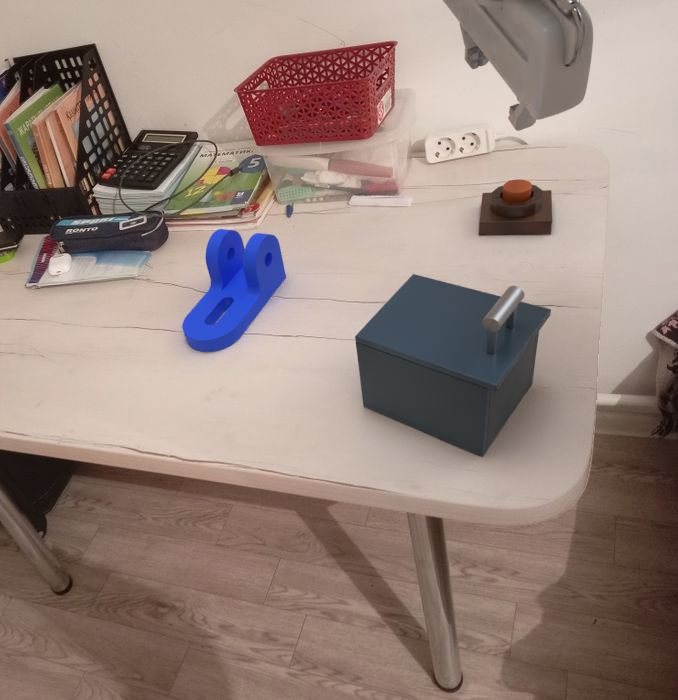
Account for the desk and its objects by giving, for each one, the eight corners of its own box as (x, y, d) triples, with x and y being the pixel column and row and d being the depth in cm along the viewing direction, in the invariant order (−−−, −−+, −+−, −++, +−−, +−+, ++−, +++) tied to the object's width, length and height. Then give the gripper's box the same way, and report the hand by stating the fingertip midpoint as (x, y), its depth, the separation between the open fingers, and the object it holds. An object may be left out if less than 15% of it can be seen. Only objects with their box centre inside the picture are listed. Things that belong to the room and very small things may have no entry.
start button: (530, 189, 87) (532, 178, 86) (530, 203, 84) (531, 191, 83) (502, 191, 88) (503, 179, 87) (501, 204, 86) (502, 193, 85)
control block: (549, 203, 89) (552, 178, 87) (550, 234, 84) (553, 208, 82) (481, 205, 93) (483, 181, 90) (478, 235, 88) (479, 210, 85)
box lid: (550, 315, 60) (556, 271, 56) (496, 392, 54) (499, 348, 51) (413, 279, 69) (411, 239, 65) (355, 342, 63) (350, 302, 60)
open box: (532, 383, 66) (541, 313, 60) (482, 457, 61) (486, 389, 55) (415, 344, 75) (413, 279, 69) (363, 406, 70) (355, 342, 63)
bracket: (238, 270, 96) (225, 219, 90) (286, 277, 92) (275, 224, 86) (175, 344, 86) (156, 293, 80) (224, 357, 82) (208, 304, 76)
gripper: (637, -7, 40) (591, 152, 51) (498, -134, 51) (485, 20, 62) (538, 31, 41) (514, 179, 52) (422, -101, 52) (423, 45, 63)
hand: (497, 92), depth 57 cm, fingers open, 8 cm apart
